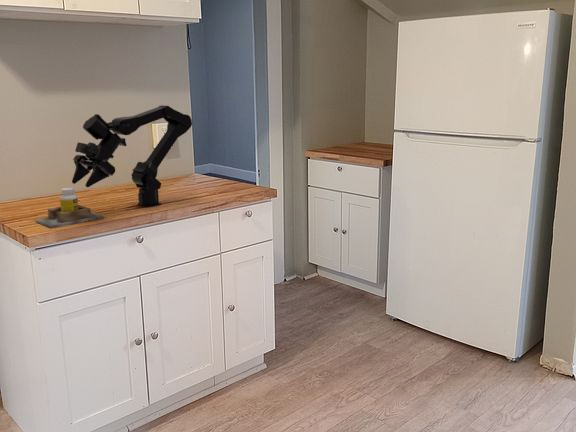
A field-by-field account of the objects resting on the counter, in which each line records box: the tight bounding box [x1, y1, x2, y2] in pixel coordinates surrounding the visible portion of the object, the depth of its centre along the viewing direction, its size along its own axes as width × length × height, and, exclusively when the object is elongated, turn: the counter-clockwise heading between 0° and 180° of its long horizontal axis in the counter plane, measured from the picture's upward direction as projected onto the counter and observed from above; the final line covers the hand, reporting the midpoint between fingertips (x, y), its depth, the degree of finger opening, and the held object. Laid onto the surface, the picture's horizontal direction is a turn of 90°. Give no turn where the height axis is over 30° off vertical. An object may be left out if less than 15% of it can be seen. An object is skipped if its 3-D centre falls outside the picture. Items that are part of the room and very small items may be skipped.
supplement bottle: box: [59, 187, 79, 212], centre depth 185 cm, size 5×5×10 cm
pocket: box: [34, 204, 105, 229], centre depth 186 cm, size 18×12×4 cm, turn 136°
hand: (79, 184), depth 187 cm, fingers open, 9 cm apart
